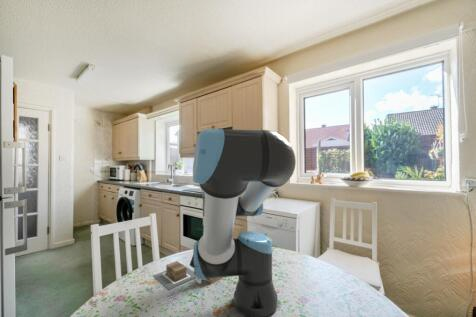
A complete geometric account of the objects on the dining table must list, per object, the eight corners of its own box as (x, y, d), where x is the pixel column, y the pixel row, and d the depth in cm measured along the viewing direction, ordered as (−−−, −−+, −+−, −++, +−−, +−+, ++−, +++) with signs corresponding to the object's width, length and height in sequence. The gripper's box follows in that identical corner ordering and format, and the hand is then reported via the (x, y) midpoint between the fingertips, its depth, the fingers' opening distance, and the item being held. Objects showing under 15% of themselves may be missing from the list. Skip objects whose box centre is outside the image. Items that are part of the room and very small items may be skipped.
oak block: (222, 278, 91) (222, 264, 91) (210, 284, 87) (210, 269, 87) (213, 273, 95) (213, 259, 95) (202, 278, 91) (202, 264, 91)
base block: (186, 276, 91) (186, 267, 91) (175, 281, 88) (175, 271, 88) (176, 269, 97) (176, 261, 97) (166, 274, 94) (166, 264, 94)
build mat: (199, 276, 92) (199, 275, 92) (168, 290, 83) (168, 289, 83) (182, 265, 102) (182, 264, 102) (153, 276, 93) (153, 275, 93)
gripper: (228, 217, 103) (228, 262, 103) (180, 230, 85) (181, 284, 85) (239, 221, 97) (239, 268, 97) (191, 235, 80) (191, 292, 80)
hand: (212, 275), depth 91 cm, fingers open, 13 cm apart
